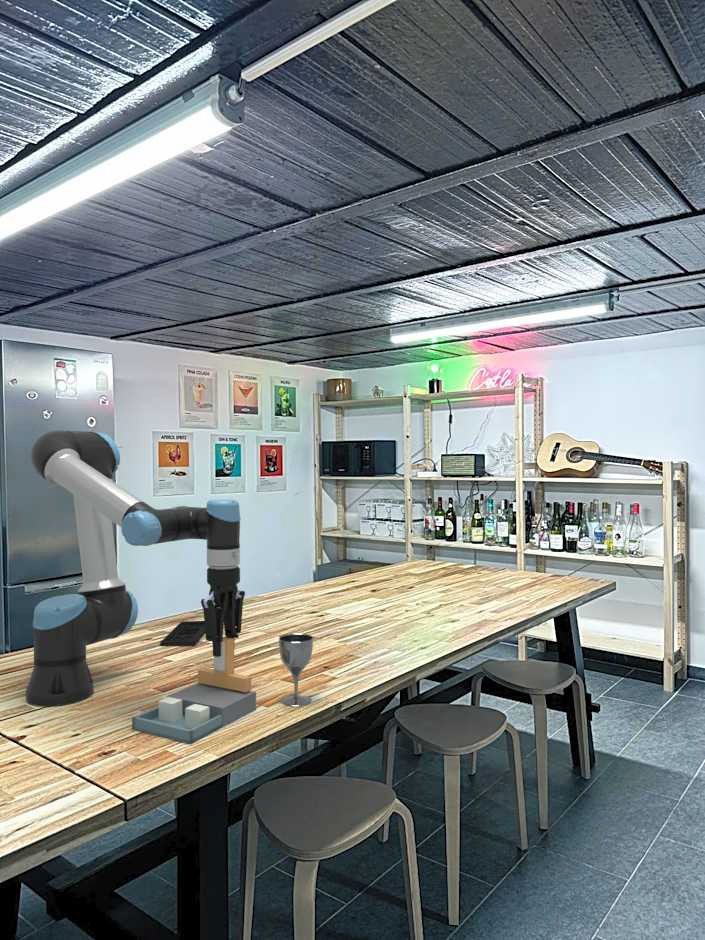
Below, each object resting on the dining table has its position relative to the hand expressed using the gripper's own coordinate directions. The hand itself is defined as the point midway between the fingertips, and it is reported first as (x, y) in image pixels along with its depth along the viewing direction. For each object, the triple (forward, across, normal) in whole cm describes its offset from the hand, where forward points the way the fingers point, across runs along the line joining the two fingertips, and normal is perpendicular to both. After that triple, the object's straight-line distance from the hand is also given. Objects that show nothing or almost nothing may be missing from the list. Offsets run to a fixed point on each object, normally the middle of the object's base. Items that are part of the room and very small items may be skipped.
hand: (223, 667), depth 161 cm
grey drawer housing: (+9, -4, 0) cm, 10 cm away
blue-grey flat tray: (+9, -16, 0) cm, 18 cm away
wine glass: (+9, +10, -13) cm, 19 cm away
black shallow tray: (+10, +46, +49) cm, 68 cm away
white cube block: (+6, -12, +4) cm, 14 cm away
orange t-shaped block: (+4, 0, 0) cm, 4 cm away
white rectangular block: (+6, -12, -4) cm, 14 cm away
